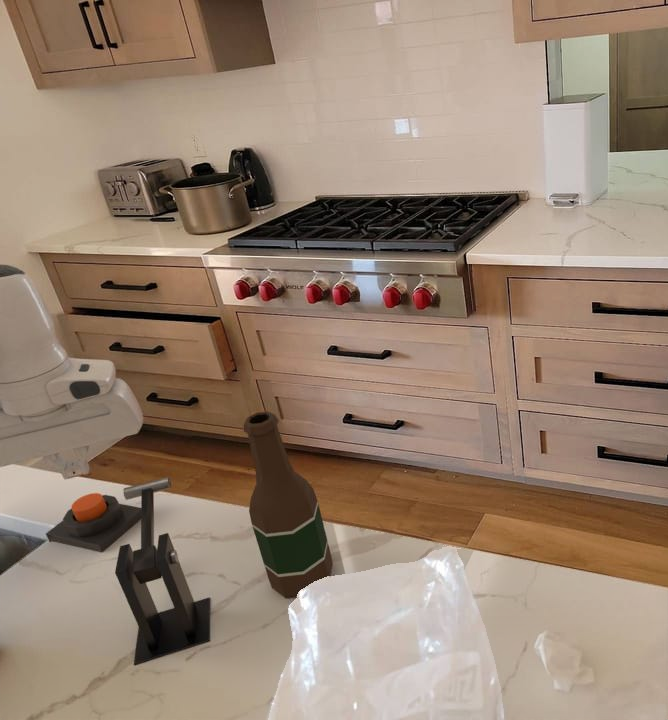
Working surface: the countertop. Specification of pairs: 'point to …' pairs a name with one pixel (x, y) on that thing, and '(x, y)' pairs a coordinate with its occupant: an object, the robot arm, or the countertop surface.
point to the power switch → (170, 626)
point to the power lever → (146, 529)
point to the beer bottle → (284, 513)
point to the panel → (96, 527)
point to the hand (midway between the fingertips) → (77, 474)
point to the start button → (89, 507)
